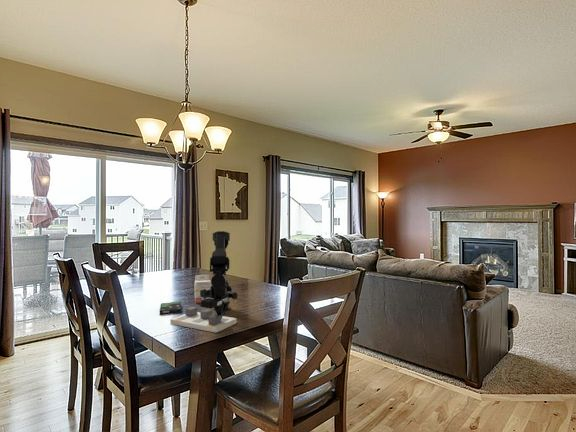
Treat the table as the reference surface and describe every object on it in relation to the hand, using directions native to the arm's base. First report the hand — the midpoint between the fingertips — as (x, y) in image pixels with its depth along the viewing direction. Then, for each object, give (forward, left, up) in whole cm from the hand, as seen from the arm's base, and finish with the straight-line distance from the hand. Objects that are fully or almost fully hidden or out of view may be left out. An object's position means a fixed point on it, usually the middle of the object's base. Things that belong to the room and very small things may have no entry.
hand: (220, 318), depth 150 cm
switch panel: (0, -9, -3) cm, 10 cm away
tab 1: (-2, -18, -1) cm, 18 cm away
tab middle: (-2, -9, -1) cm, 9 cm away
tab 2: (+4, 0, -1) cm, 4 cm away
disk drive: (-9, -39, -4) cm, 40 cm away
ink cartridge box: (-29, -35, -3) cm, 45 cm away
